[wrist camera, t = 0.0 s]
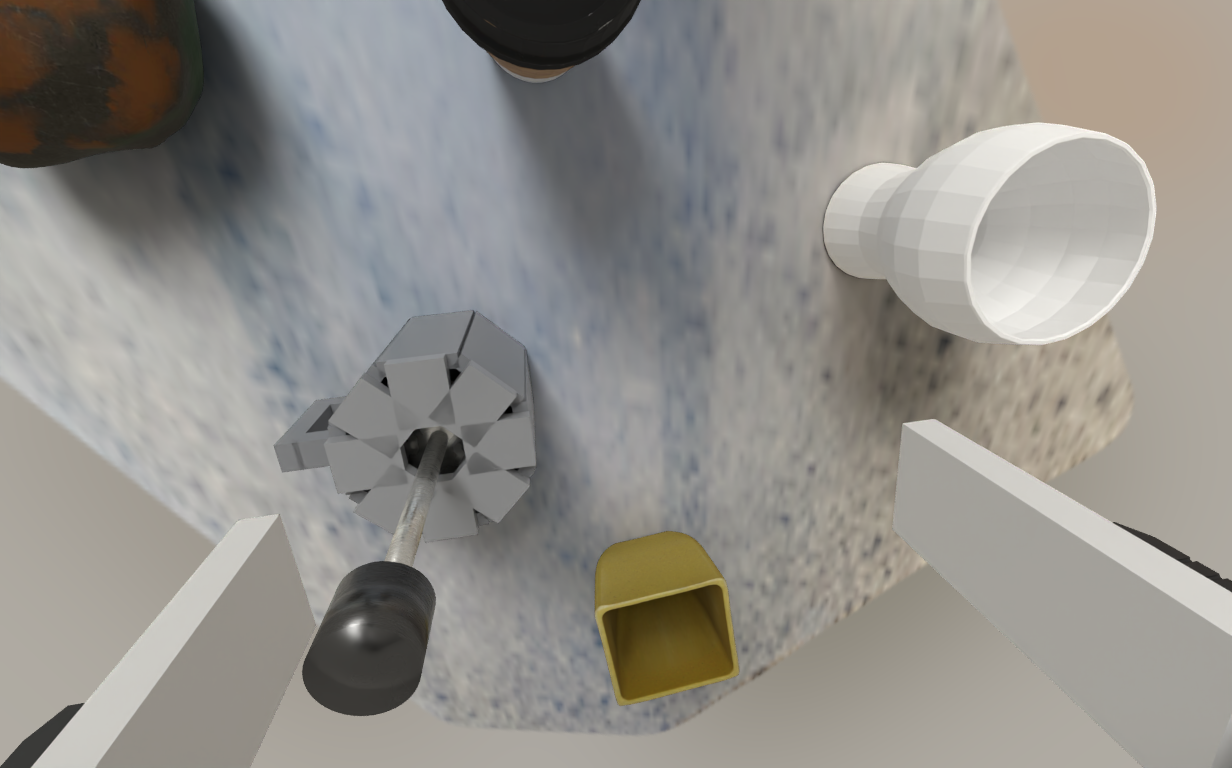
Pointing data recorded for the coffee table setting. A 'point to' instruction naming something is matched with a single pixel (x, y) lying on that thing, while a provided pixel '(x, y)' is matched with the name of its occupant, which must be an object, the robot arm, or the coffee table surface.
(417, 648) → the plunger
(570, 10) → the coffee cup
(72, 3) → the rock
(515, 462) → the press carafe
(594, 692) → the coffee table surface
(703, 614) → the flower pot
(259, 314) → the coffee table surface
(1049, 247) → the cup
